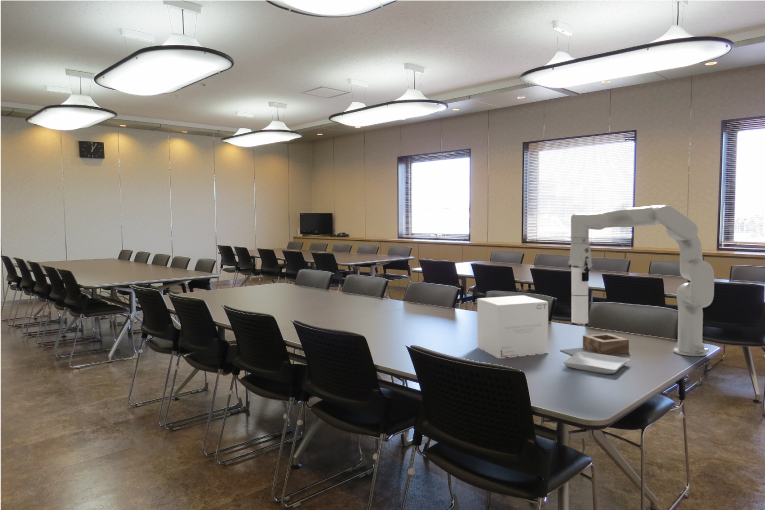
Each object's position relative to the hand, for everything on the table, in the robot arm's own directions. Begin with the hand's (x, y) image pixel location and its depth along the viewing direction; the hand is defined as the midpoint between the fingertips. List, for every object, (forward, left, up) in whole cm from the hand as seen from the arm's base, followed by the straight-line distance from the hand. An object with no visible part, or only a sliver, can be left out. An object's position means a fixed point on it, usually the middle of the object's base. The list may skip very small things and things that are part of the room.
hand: (579, 280), depth 237 cm
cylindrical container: (0, 0, -19) cm, 19 cm away
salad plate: (-21, +7, -34) cm, 41 cm away
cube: (+15, +26, -34) cm, 46 cm away
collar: (0, -14, -34) cm, 36 cm away
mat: (0, 0, -34) cm, 34 cm away
